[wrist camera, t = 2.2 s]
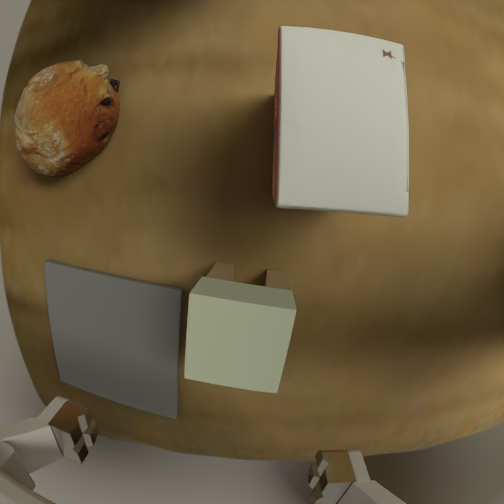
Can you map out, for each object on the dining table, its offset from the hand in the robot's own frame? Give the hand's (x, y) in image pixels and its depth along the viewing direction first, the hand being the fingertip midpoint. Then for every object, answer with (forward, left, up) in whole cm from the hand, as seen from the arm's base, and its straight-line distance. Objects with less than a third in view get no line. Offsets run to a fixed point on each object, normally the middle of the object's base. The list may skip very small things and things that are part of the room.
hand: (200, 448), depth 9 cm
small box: (-4, -12, -15) cm, 20 cm away
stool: (-1, 0, -15) cm, 15 cm away
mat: (+11, +7, -15) cm, 20 cm away
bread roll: (+16, -13, -15) cm, 26 cm away
